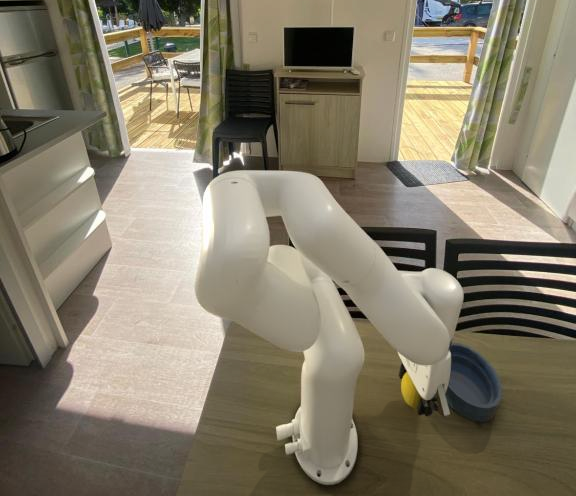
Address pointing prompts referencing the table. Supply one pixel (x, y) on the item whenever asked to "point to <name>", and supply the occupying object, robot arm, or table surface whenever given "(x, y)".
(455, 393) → the bowl
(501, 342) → the table surface
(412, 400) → the lemon
